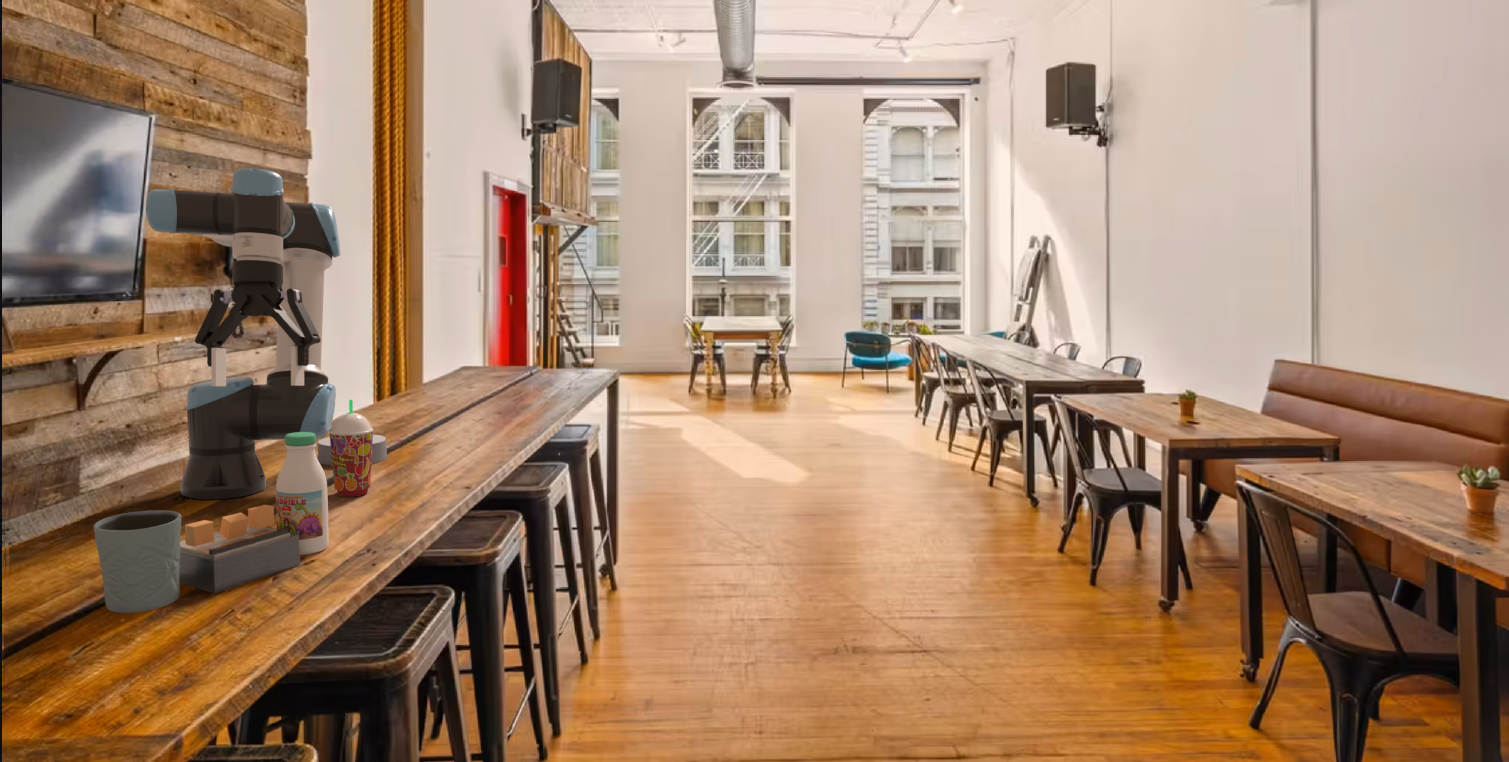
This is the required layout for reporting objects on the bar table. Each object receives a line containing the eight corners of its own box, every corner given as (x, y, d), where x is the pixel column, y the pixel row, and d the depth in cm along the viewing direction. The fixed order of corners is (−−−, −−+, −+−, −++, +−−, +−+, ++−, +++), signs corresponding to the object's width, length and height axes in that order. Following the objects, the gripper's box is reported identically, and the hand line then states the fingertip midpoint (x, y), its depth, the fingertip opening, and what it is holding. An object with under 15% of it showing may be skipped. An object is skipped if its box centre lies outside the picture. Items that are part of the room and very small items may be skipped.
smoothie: (321, 495, 177) (319, 400, 174) (353, 486, 185) (352, 395, 182) (351, 501, 174) (349, 404, 171) (383, 491, 182) (381, 399, 179)
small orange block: (219, 534, 132) (222, 517, 131) (237, 528, 135) (241, 512, 134) (227, 539, 131) (231, 523, 130) (246, 534, 134) (249, 518, 133)
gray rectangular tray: (162, 578, 130) (160, 540, 129) (249, 552, 143) (247, 517, 142) (215, 593, 125) (213, 554, 124) (299, 564, 138) (298, 529, 137)
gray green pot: (130, 620, 115) (125, 534, 114) (80, 607, 119) (75, 523, 117) (201, 594, 125) (198, 515, 123) (153, 583, 128) (149, 505, 126)
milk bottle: (290, 541, 149) (286, 428, 146) (336, 542, 149) (333, 430, 147) (269, 556, 141) (265, 437, 138) (317, 557, 142) (314, 439, 139)
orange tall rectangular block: (185, 544, 127) (184, 525, 127) (205, 538, 130) (204, 520, 130) (194, 546, 127) (193, 527, 126) (214, 541, 129) (213, 522, 129)
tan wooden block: (248, 527, 137) (247, 508, 136) (265, 522, 139) (265, 504, 139) (257, 529, 136) (256, 510, 135) (274, 524, 139) (273, 506, 138)
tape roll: (303, 462, 204) (302, 441, 204) (350, 450, 219) (350, 431, 218) (355, 469, 200) (355, 448, 199) (400, 456, 214) (400, 437, 214)
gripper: (170, 259, 142) (170, 386, 142) (318, 257, 141) (318, 385, 141) (200, 265, 149) (200, 386, 149) (341, 264, 149) (341, 385, 149)
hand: (258, 386), depth 145 cm, fingers open, 13 cm apart
